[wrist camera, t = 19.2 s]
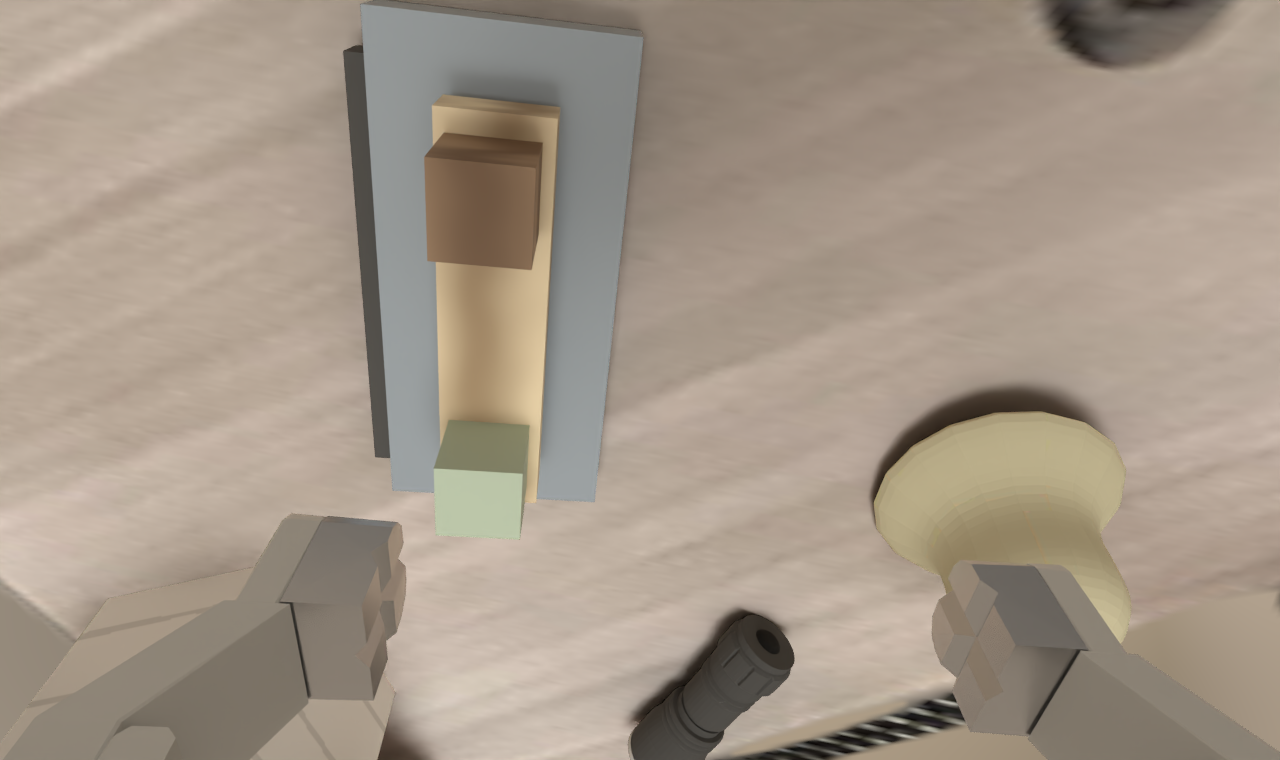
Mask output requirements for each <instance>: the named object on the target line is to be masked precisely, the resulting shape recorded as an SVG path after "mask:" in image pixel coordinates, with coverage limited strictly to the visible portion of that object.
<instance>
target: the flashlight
mask: <svg viewBox="0 0 1280 760" xmlns="http://www.w3.org/2000/svg"><path fill="white" fill-rule="evenodd" d="M793 664H794V652H793V649H792V647H791V645H790V643H789V641H788V640H787V638H786V637H785V635H784V634H783V633H782V632H781V631H780V630H779V629H778V628H777V627H776V626H775V625H774V624H773V623H771V622H770V621H768V620H767V619H765V618H763V617H760V616H757V615H748V616H746V617H745V618H744V619H740V620H738V621H735V622H734V623H733V624H732V625H731V626H730V628H729V629H728V630H727V631H726V632H725V633H724V634H723V635H722V636H721V637H720V639H719V641H718V647H717V648H716V649H715V650H714V651H713V653H712V655H710V656H709V658H708V659H707V660H706V661H705V662H704V663H703V665H702V668H701V669H700V670H699V671H698V672H697V674H696V675H695V676H694V677H693V678H692V679H691V680H690V681H689V682H688V683H687V684H686V686H681V687H678V688H676V689H675V690H674V691H673V692H672V693H671V694H670V695H669V697H667V698H666V700H665V701H664V703H662V704H660V705H658V706H656V707H655V708H653V709H652V710H651V711H650V712H649V714H648V715H647V716H646V717H645V718H644V719H643V720H642V721H641V722H640V723H639V724H638V726H637V727H636V728H635V729H634V730H633V731H632V732H631V734H630V736H629V740H628V752H629V757H630V760H705V758H706V756H707V754H708V753H709V752H711V751H712V750H713V748H715V747H716V746H717V744H719V743H720V742H721V740H722V738H723V735H724V730H725V729H726V728H727V727H728V726H729V725H730V724H731V723H732V722H733V721H734V720H735V719H736V718H737V717H738V716H739V715H740V714H741V713H742V712H745V711H747V710H748V709H749V708H750V707H751V706H752V705H753V704H754V703H755V702H756V701H758V700H759V699H760V698H761V697H762V696H769V695H770V694H771V693H773V692H774V691H775V690H776V689H777V688H778V687H779V686H780V685H781V684H782V683H783V682H784V681H785V680H786V679H787V678H788V676H789V674H790V670H791V667H792V666H793Z"/></svg>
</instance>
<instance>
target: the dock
mask: <svg viewBox="0 0 1280 760" xmlns="http://www.w3.org/2000/svg"><path fill="white" fill-rule="evenodd" d="M360 7H361V22H362V37H363V46H357V45H356V46H354V47H351V48H349V49H347V50H344V51H343V54H344V67H345V79H346V92H347V105H348V117H349V130H350V143H351V156H352V168H353V181H354V194H355V206H356V219H357V232H358V245H359V257H360V270H361V283H362V295H363V308H364V321H365V334H366V346H367V359H368V372H369V384H370V397H371V410H372V423H373V435H374V448H375V457H380V458H390V460H391V475H392V490H393V491H409V492H427V493H434V466H435V463H436V459H437V456H438V453H439V450H440V415H439V375H438V334H437V294H436V262H431V261H427V235H426V202H425V170H424V156H425V155H426V154H427V153H428V151H429V150H430V149H431V148H432V146H433V131H432V105H433V104H434V103H435V102H436V101H437V100H438V99H439V98H440V97H441V96H442V95H443V94H444V95H453V96H463V97H472V98H481V99H490V100H499V101H509V102H518V103H527V104H536V105H545V106H555V107H560V123H559V140H558V158H557V175H556V192H555V210H554V227H553V245H552V262H551V280H550V297H549V314H548V332H547V349H546V367H545V384H544V402H543V419H542V436H541V454H540V471H539V482H538V491H537V499H549V500H566V501H584V502H595V493H596V484H597V474H598V465H599V455H600V446H601V437H602V427H603V418H604V408H605V399H606V389H607V380H608V370H609V361H610V351H611V342H612V332H613V323H614V313H615V304H616V295H617V285H618V276H619V266H620V257H621V247H622V238H623V228H624V219H625V209H626V200H627V190H628V181H629V171H630V162H631V153H632V143H633V134H634V124H635V115H636V105H637V96H638V86H639V77H640V67H641V58H642V48H643V39H644V37H643V35H642V33H641V31H640V30H633V29H624V28H616V27H608V26H599V25H591V24H583V23H574V22H566V21H558V20H549V19H541V18H532V17H524V16H516V15H507V14H499V13H491V12H482V11H474V10H466V9H457V8H449V7H441V6H432V5H424V4H416V3H407V2H399V1H390V0H373V1H369V2H365V3H362V4H360Z"/></svg>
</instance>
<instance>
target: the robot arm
mask: <svg viewBox="0 0 1280 760" xmlns="http://www.w3.org/2000/svg"><path fill="white" fill-rule="evenodd" d="M402 546H403V534H402V526H401V525H400V524H399V523H398V522H389V521H378V520H367V519H355V518H344V517H333V516H327V517H323V516H313V515H303V514H293V513H291V514H290V515H289V516H287V517H286V518H285V519H284V520H282V522H281V523H280V525H279V527H278V529H277V530H276V532H275V534H274V535H273V537H272V539H271V540H270V542H269V544H268V545H267V547H266V549H265V550H264V552H263V554H262V556H261V557H260V559H259V561H258V562H257V564H256V566H255V567H254V569H253V571H252V572H251V574H250V576H249V578H248V579H247V581H246V583H245V584H244V586H243V588H242V589H241V591H240V593H239V594H238V596H237V598H236V599H235V601H234V600H223V601H221V602H220V603H218V604H216V605H215V606H213V607H212V608H210V609H208V610H207V611H205V612H203V613H202V614H200V615H199V616H197V617H195V618H194V619H192V620H191V621H189V622H187V623H186V624H184V625H183V626H181V627H179V628H178V629H176V630H175V631H173V632H171V633H170V634H168V635H166V636H165V637H163V638H162V639H160V640H158V641H157V642H155V643H154V644H152V645H150V646H149V647H147V648H146V649H144V650H142V651H141V652H139V653H137V654H136V655H134V656H133V657H131V658H129V659H128V660H126V661H125V662H123V663H121V664H120V665H118V666H117V667H115V668H113V669H112V670H110V671H109V672H107V673H105V674H104V675H102V676H100V677H99V678H97V679H96V680H94V681H92V682H91V683H89V684H88V685H86V686H84V687H83V688H81V689H80V690H78V691H76V692H75V693H73V694H72V695H70V696H68V697H67V698H65V699H63V700H62V701H60V702H59V703H57V704H55V705H54V706H52V707H51V708H49V709H47V710H46V711H44V712H43V713H41V714H39V715H38V716H36V717H35V718H34V719H33V721H32V722H31V723H30V724H29V726H28V727H27V728H26V730H25V731H24V732H23V734H22V735H21V736H20V738H19V739H18V740H17V742H16V743H15V744H14V746H13V747H12V748H11V749H10V751H9V752H8V753H7V755H6V756H5V757H4V759H3V760H250V759H251V758H252V757H253V756H254V755H255V754H256V753H257V752H258V751H259V750H260V749H261V748H262V747H263V746H264V745H265V744H266V743H268V742H269V741H270V740H271V739H272V738H273V737H274V736H275V735H276V734H277V733H278V732H279V731H280V730H281V729H282V728H283V727H284V726H285V725H286V724H287V723H288V722H289V721H291V720H292V719H293V718H294V717H295V716H296V715H297V714H298V713H299V712H300V711H301V710H302V709H303V708H304V707H305V706H306V705H307V704H308V703H309V700H308V699H324V700H366V701H374V698H375V695H376V692H377V689H378V686H379V683H380V680H381V677H382V674H383V671H384V669H385V666H386V663H387V660H388V657H387V647H386V640H388V639H389V638H390V637H391V636H393V635H394V634H395V633H396V632H397V629H398V626H399V623H400V620H401V616H402V612H403V606H404V601H405V595H406V567H405V565H404V564H403V563H402V562H401V561H400V560H399V559H398V557H399V555H400V552H401V549H402ZM948 580H949V582H950V584H951V586H952V588H953V590H952V591H951V592H949V593H948V594H947V595H945V596H944V597H942V598H941V599H939V600H938V603H937V606H936V608H935V611H934V614H933V616H932V638H933V643H934V648H935V651H936V653H937V656H938V658H939V661H940V663H941V664H942V665H943V666H944V667H945V668H946V669H947V670H948V671H950V672H951V673H952V674H953V675H954V676H955V677H957V678H956V681H955V684H954V687H953V689H952V691H953V694H954V696H955V698H956V701H957V703H958V705H959V707H960V710H961V712H962V714H963V717H964V719H965V721H966V724H967V726H968V728H969V730H970V732H980V733H993V734H1005V735H1019V736H1029V738H1028V740H1029V741H1030V742H1031V743H1032V744H1033V745H1034V746H1035V747H1036V748H1037V749H1038V750H1039V751H1040V752H1041V753H1042V754H1043V755H1044V756H1045V757H1046V758H1047V759H1048V760H1280V752H1279V751H1278V750H1276V749H1275V748H1273V747H1272V746H1270V745H1269V744H1267V743H1266V742H1264V741H1263V740H1262V739H1260V738H1259V737H1257V736H1256V735H1254V734H1253V733H1251V732H1250V731H1249V730H1247V729H1246V728H1244V727H1243V726H1241V725H1240V724H1238V723H1237V722H1235V721H1234V720H1232V719H1231V718H1230V717H1228V716H1227V715H1225V714H1224V713H1222V712H1221V711H1219V710H1218V709H1216V708H1215V707H1214V706H1212V705H1211V704H1209V703H1208V702H1206V701H1205V700H1203V699H1202V698H1200V697H1199V696H1198V695H1196V694H1195V693H1193V692H1192V691H1190V690H1189V689H1187V688H1186V687H1184V686H1183V685H1181V684H1180V683H1178V682H1177V681H1175V680H1174V679H1173V678H1171V677H1170V676H1168V675H1167V674H1165V673H1164V672H1163V671H1161V670H1160V669H1158V668H1157V667H1155V666H1153V665H1152V664H1151V663H1149V662H1148V661H1147V660H1145V659H1144V658H1142V657H1141V656H1139V655H1137V654H1127V653H1126V651H1125V650H1124V649H1123V647H1122V646H1121V644H1120V643H1119V641H1118V640H1117V638H1116V637H1115V635H1114V634H1113V633H1112V631H1111V630H1110V628H1109V627H1108V625H1107V624H1106V622H1105V621H1104V620H1103V618H1102V617H1101V615H1100V614H1099V612H1098V611H1097V610H1096V608H1095V607H1094V605H1093V604H1092V602H1091V601H1090V599H1089V598H1088V597H1087V595H1086V594H1085V592H1084V591H1083V589H1082V588H1081V587H1080V585H1079V584H1078V582H1077V581H1076V579H1075V578H1074V576H1073V575H1072V574H1071V572H1070V571H1069V570H1067V569H1066V568H1064V567H1063V566H1062V565H1052V564H1033V563H1027V564H1023V563H1009V562H992V561H974V560H960V561H959V562H958V563H957V564H955V565H954V566H953V568H952V571H951V573H950V575H949V577H948Z"/></svg>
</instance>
